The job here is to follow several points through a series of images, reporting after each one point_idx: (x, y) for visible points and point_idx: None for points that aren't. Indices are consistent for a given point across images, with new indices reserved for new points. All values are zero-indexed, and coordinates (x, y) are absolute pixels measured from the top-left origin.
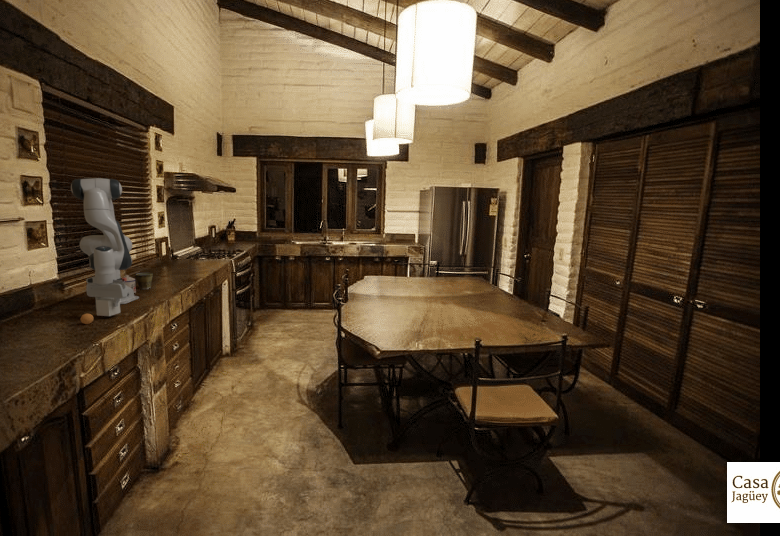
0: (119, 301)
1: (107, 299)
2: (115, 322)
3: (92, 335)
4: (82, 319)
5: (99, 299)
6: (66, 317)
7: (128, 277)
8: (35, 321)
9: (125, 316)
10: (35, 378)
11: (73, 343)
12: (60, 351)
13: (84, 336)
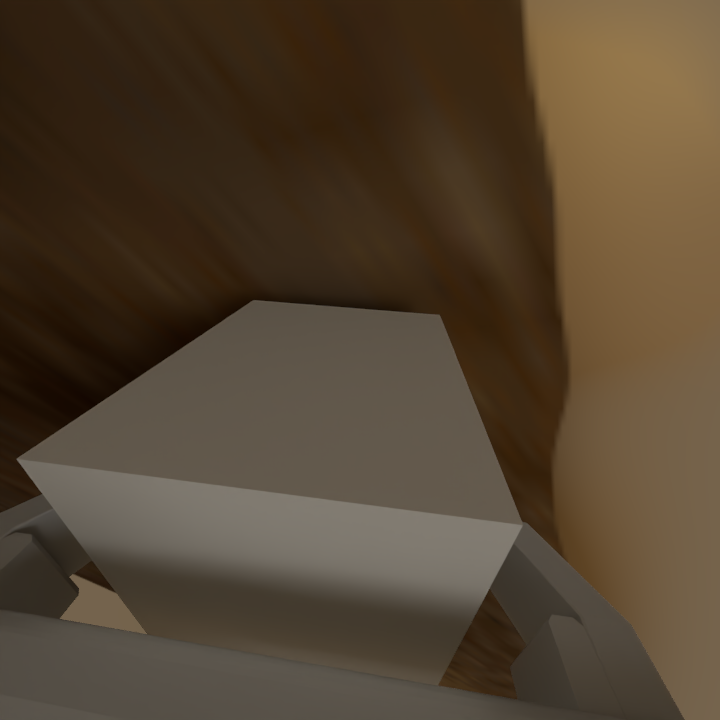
0: (480, 426)
1: (318, 636)
2: (523, 496)
3: (523, 645)
4: None
5: (165, 627)
6: (42, 413)
7: None
8: (11, 493)
9: (514, 326)
10: None
11: (504, 686)
12: None
13: (493, 649)
